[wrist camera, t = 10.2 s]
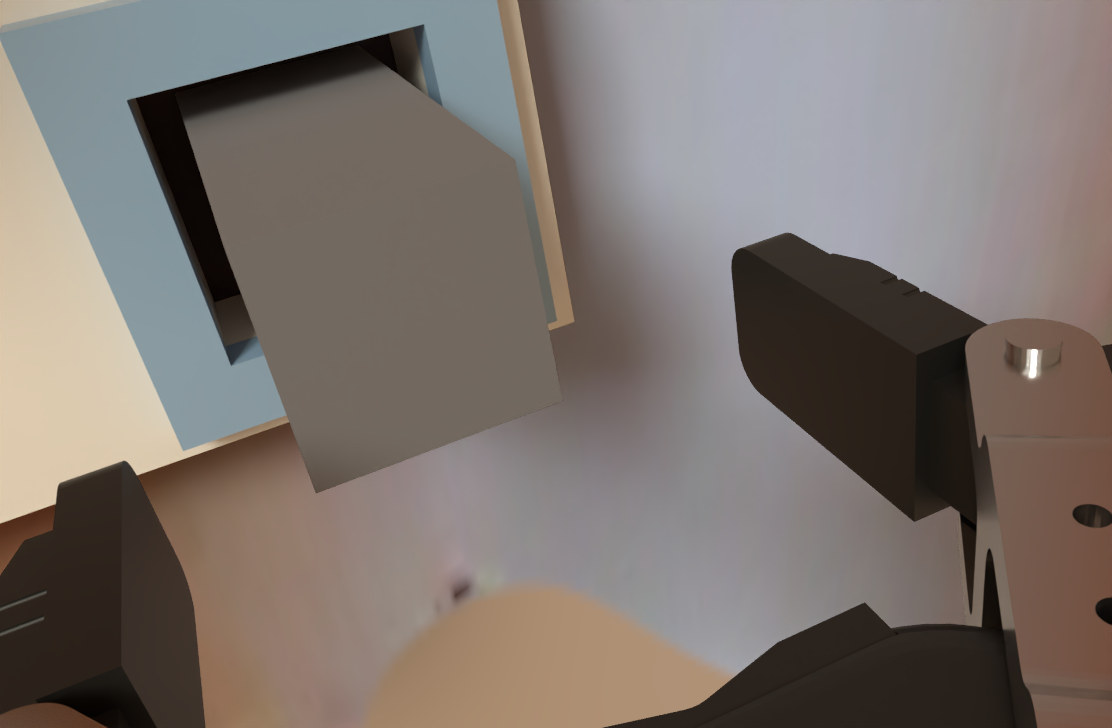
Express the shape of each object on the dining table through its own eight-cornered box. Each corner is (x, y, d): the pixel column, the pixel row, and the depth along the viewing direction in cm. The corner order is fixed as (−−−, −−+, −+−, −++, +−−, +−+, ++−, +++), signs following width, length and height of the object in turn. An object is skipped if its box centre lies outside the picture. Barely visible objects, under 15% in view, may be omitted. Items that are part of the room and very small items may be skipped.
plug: (357, 44, 22) (515, 159, 13) (402, 212, 24) (562, 400, 16) (174, 92, 21) (224, 247, 12) (237, 263, 23) (315, 493, 14)
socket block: (455, -133, 21) (511, -132, 18) (537, 285, 26) (591, 338, 23) (-789, 134, 16) (-990, 197, 13) (-379, 593, 21) (-457, 712, 18)
